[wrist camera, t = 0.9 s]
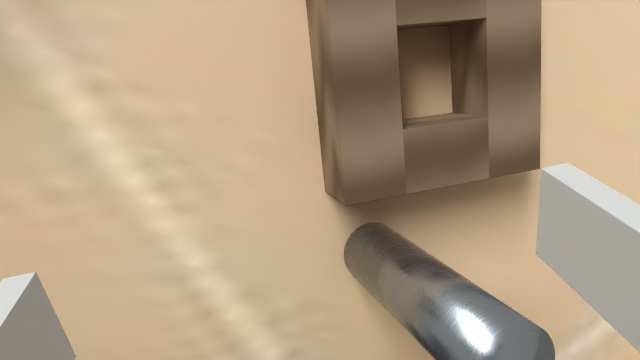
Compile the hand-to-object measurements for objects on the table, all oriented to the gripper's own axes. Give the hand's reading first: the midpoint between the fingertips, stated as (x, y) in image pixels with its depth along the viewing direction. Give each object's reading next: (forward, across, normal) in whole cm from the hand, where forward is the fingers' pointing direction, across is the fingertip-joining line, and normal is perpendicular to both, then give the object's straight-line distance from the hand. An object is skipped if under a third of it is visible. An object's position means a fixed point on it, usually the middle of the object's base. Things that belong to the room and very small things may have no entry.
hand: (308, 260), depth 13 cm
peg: (+18, -5, +12) cm, 22 cm away
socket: (+21, -10, +1) cm, 23 cm away
